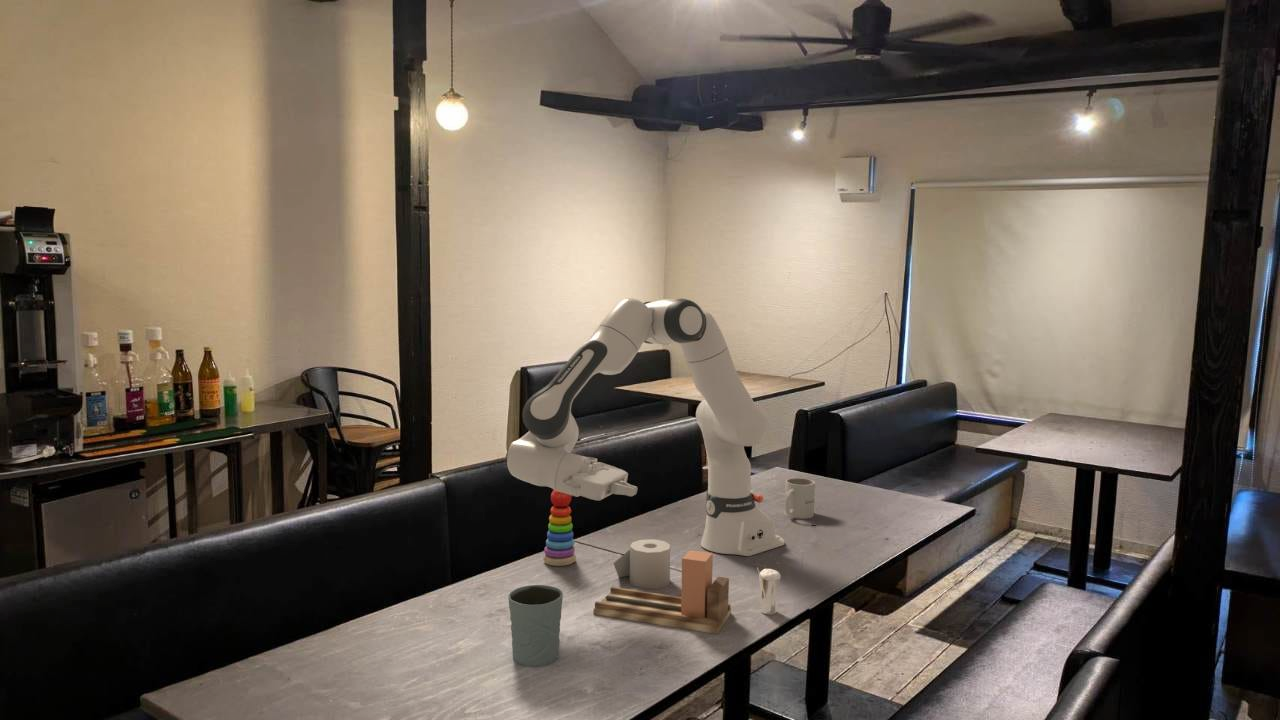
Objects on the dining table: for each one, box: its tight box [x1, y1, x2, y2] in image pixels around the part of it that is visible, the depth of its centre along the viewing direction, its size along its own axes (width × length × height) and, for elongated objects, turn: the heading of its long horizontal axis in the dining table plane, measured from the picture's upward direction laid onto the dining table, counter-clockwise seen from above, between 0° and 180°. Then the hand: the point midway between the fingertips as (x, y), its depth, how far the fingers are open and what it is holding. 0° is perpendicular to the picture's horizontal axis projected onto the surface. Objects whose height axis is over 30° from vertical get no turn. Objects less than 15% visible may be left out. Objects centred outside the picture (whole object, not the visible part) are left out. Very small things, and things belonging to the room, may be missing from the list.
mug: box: [784, 477, 816, 520], centre depth 249 cm, size 12×9×10 cm
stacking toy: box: [543, 489, 577, 567], centre depth 207 cm, size 8×8×19 cm
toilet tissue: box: [613, 538, 671, 590], centre depth 195 cm, size 9×13×9 cm
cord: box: [605, 594, 707, 615], centre depth 177 cm, size 24×1×1 cm, turn 70°
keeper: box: [680, 549, 714, 618], centre depth 174 cm, size 5×6×12 cm
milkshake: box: [757, 567, 782, 616], centre depth 178 cm, size 4×5×10 cm
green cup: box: [508, 584, 564, 668], centre depth 157 cm, size 10×10×12 cm
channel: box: [593, 576, 732, 635], centre depth 177 cm, size 27×11×8 cm, turn 70°
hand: (635, 492), depth 180 cm, fingers closed
